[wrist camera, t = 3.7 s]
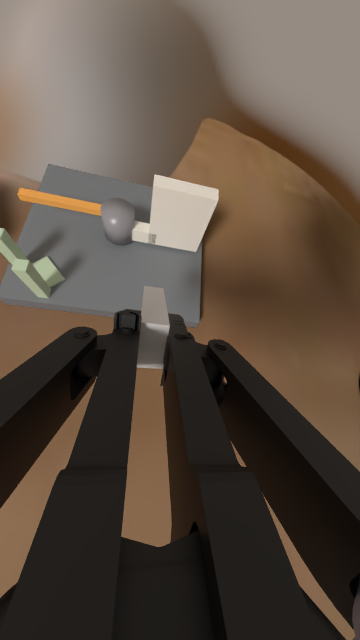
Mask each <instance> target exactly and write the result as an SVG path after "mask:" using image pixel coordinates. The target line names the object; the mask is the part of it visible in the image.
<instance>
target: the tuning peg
mask: <svg viewBox="0 0 360 640" xmlns="http://www.w3.org/2000/svg"><path fill="white" fill-rule="evenodd" d="M18 196H19V198H20V200H23V201H28V202H33V203H38V204H43V205H49V206H54V207H59V208H64V209H69V210H74V211H79V212H84V213H89V214H94V215H99V216H102V221H103V227H104V233H105V237H106V238H107V240H108V241H109V242H111V243H113V244H115V245H126V244H129V243H130V242H131V241H132V240H133V241H138V242H144V243H149V244H155V245H160V246H166V247H171V248H176V249H182V250H187V251H193V252H196V251H197V249H198V246H199V244H200V242H201V239H202V237H203V235H204V232H205V230H206V228H207V225H208V223H209V221H210V218H211V216H212V214H213V212H214V209H215V207H216V205H217V202H218V189H214V188H210V187H206V186H202V185H197V184H193V183H189V182H185V181H180V180H176V179H172V178H168V177H164V176H159V175H155V177H154V184H153V194H152V205H151V216H150V224H148V223H143V222H138V221H135V212H134V208H133V206H132V204H131V203H129V202H128V201H127V200H125V199H122V198H110V199H107V200H105V201H104V202H103V203H102V204H97V203H92V202H87V201H83V200H78V199H73V198H68V197H63V196H58V195H53V194H49V193H44V192H39V191H34V190H29V189H24V188H20V189H19V191H18Z"/></svg>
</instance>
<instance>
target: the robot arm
mask: <svg viewBox="0 0 360 640" xmlns="http://www.w3.org/2000/svg"><path fill="white" fill-rule="evenodd" d="M163 363H164V368H163V374H162V379H161V385H160V386H162V385H163V392H164V407H165V423H166V438H167V453H168V469H169V484H170V500H171V515H172V530H171V543H169V544H167V545H165V546H162V547H155V546H151V545H148V544H144V543H141V542H137V541H134V540H130V539H127V538H123V537H121V532H122V521H123V511H124V500H125V489H126V479H127V463H128V453H129V442H130V432H131V421H132V411H133V401H134V390H135V380H136V369H137V367H142V368H156V369H162V367H163ZM96 376H98V377H97V379H96ZM224 377H225V378H226V380H227V384H226V383H225V382H224V381H223V380H224ZM95 379H96V382H95ZM94 382H95V385H94V388H93V391H92V394H91V397H90V400H89V403H88V406H87V409H86V412H85V415H84V418H83V421H82V424H81V427H80V430H79V433H78V436H77V438H76V441H75V444H74V447H73V450H72V453H71V456H70V459H69V462H68V464H67V466H66V468H65V469H63V470H61V471H60V473H59V474H58V476H57V478H56V480H55V483H54V485H53V488H52V490H51V493H50V496H49V498H48V501H47V504H46V507H45V509H44V512H43V515H42V518H41V520H40V523H39V526H38V528H37V531H36V534H35V537H34V539H33V542H32V545H31V548H30V550H29V553H28V556H27V558H26V561H25V564H24V567H23V569H22V572H21V575H20V578H19V580H18V582H17V583H16V584H15V585H14V586H13V587H11V588H10V589H9V590H8V591H7V592H6V593H5V594H4V595H3V596H2V597H1V598H0V640H346V639H345V638H344V637H343V636H342V634H341V633H340V632H339V631H338V630H337V629H336V627H335V626H334V625H333V624H332V623H331V622H330V621H329V619H328V618H327V617H326V616H325V615H324V614H323V612H322V611H321V610H320V609H319V608H318V607H317V605H316V604H315V603H314V602H313V601H312V600H311V599H310V597H309V596H308V595H307V594H306V593H305V592H304V590H303V589H302V588H301V587H300V586H299V584H298V581H297V579H296V576H295V574H294V571H293V569H292V566H291V564H290V561H289V559H288V556H287V554H286V551H285V549H284V546H283V544H282V541H281V539H280V536H279V534H278V531H277V529H276V526H275V524H274V521H273V519H272V516H271V514H270V511H269V509H268V506H267V504H266V501H265V499H264V496H265V498H266V500H267V501H268V503H269V505H270V506H271V508H272V510H273V511H274V513H275V515H276V516H277V518H278V520H279V521H280V523H281V525H282V526H283V528H284V530H285V531H286V533H287V535H288V536H289V538H290V540H291V541H292V543H293V545H294V546H295V548H296V550H297V551H298V553H299V555H300V556H301V558H302V559H303V561H304V562H305V564H306V566H307V567H308V569H309V570H310V572H311V573H312V575H313V576H314V578H315V580H316V581H317V583H318V584H319V585H320V587H321V588H322V589H323V591H324V592H325V594H326V595H327V596H328V598H329V599H330V600H331V602H332V603H333V605H334V606H335V607H336V609H337V610H338V611H339V612H340V614H341V615H342V616H343V617H344V618H345V620H346V621H347V622H348V623H349V625H350V626H351V627H352V628H353V629H354V632H355V635H356V636H355V637H354V638H353V640H360V472H359V471H358V470H357V469H356V468H355V467H354V466H353V465H352V464H351V463H350V462H349V461H348V460H347V459H346V458H345V457H344V456H343V455H342V454H341V453H340V452H339V451H338V450H337V449H336V448H335V447H334V446H333V445H332V444H331V443H330V442H329V441H328V440H327V439H326V438H325V437H324V436H323V435H322V434H321V433H320V432H319V431H318V430H317V429H316V428H315V427H314V426H313V425H312V424H311V423H310V422H309V421H308V420H307V419H305V418H304V417H303V416H302V415H301V414H300V413H299V412H298V411H297V410H296V409H295V408H294V407H293V406H292V405H291V404H290V403H289V402H288V401H287V400H286V399H285V398H284V397H283V396H282V395H281V394H280V393H279V392H278V391H277V390H276V389H275V388H274V387H273V386H272V385H271V384H270V383H269V382H268V381H267V380H266V379H265V378H264V377H263V376H262V375H261V374H260V373H259V372H258V371H257V370H256V369H255V368H254V367H253V366H252V365H251V364H250V363H249V362H248V361H247V360H245V359H244V358H243V357H242V356H241V355H240V354H239V353H238V352H237V351H236V350H235V349H234V348H233V347H232V346H231V345H230V344H229V343H227V342H225V341H223V340H219V339H218V340H216V339H214V340H210V341H209V342H208V346H207V345H203V344H200V343H197V342H195V339H194V337H193V335H192V334H191V333H189V332H187V329H186V326H185V322H184V319H183V318H182V317H181V316H180V315H179V314H170V313H168V312H167V306H166V300H165V294H164V288H157V287H150V286H144V292H143V301H142V310H141V311H140V310H132V309H125V310H123V311H118V312H116V313H115V315H114V329H113V332H112V333H111V334H107V335H99V336H97V332H96V331H95V330H94V329H92V328H89V327H77V328H72V329H70V330H68V331H67V332H66V333H64V334H63V335H61V336H60V337H59V338H57V339H56V340H54V341H53V342H52V343H50V344H49V345H48V346H46V347H45V348H43V349H42V350H41V351H39V352H38V353H37V354H35V355H34V356H32V357H31V358H30V359H28V360H27V361H25V362H24V363H23V364H21V365H20V366H19V367H17V368H16V369H14V370H13V371H12V372H10V373H9V374H8V375H6V376H5V377H3V378H2V379H1V380H0V508H1V507H2V506H3V504H4V503H5V502H6V500H7V499H8V498H9V496H10V495H11V494H12V492H13V491H14V489H15V488H16V487H17V485H18V484H19V483H20V481H21V480H22V479H23V477H24V476H25V475H26V473H27V472H28V471H29V469H30V468H31V467H32V465H33V464H34V462H35V461H36V460H37V458H38V457H39V456H40V454H41V453H42V452H43V450H44V449H45V448H46V446H47V445H48V444H49V442H50V441H51V440H52V438H53V437H54V436H55V434H56V433H57V431H58V430H59V429H60V427H61V426H62V425H63V423H64V422H65V421H66V419H67V418H68V417H69V415H70V414H71V413H72V411H73V410H74V409H75V407H76V406H77V405H78V403H79V402H80V400H81V399H82V398H83V396H84V395H85V394H86V392H87V391H88V390H89V388H90V387H91V386H92V384H93V383H94ZM230 440H231V441H230ZM231 442H232V443H233V445H234V447H235V448H236V450H237V452H238V453H239V455H240V456H241V458H242V460H243V461H244V463H245V465H246V466H247V467H242V466H241V465H240V464H239V463H238V461H237V458H236V455H235V452H234V450H233V447H232V444H231ZM262 493H263V494H262ZM263 495H264V496H263Z"/></svg>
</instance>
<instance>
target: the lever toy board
mask: <svg viewBox="0 0 360 640" xmlns="http://www.w3.org/2000/svg"><path fill="white" fill-rule="evenodd" d="M38 191H39V192H44V193H49V194H53V195H58V196H63V197H68V198H73V199H78V200H83V201H87V202H92V203H97V204H102V203H103V202H104V201H105V200H107V199H110V198H122V199H125V200H127V201H128V202H129V203H131V204H132V206H133V208H134V212H135V221H138V222H143V223H148V224H150V216H151V205H152V194H153V187H148V186H144V185H139V184H135V183H131V182H126V181H122V180H117V179H113V178H109V177H104V176H99V175H95V174H91V173H86V172H82V171H77V170H73V169H69V168H65V167H60V166H55V165H51V164H48V167H47V169H46V172H45V174H44V177H43V179H42V182H41V184H40V187H39V189H38ZM0 252H1V253H2V254H3V255H4V256H5V257H6V258H7V260H8V261H9V265H8V267H7V270H6V272H5V275H4V277H3V280H2V282H1V285H0V300H1V301H2V302H4V303H5V304H10V305H19V306H27V307H35V308H43V309H51V310H59V311H67V312H75V313H83V314H91V315H99V316H107V317H114V315H115V313H116V312H118V311H123V310H125V309H132V310H140V311H141V310H142V301H143V292H144V286H150V287H157V288H164V294H165V300H166V306H167V312H168V313H170V314H179V315H180V316H181V317H182V318H183V319H184V322H185V326H187V327H196V326H197V325H198V324H199V320H200V290H201V260H202V239H201V242H200V244H199V246H198V249H197V251H196V252H193V251H187V250H182V249H176V248H171V247H166V246H160V245H155V244H149V243H144V242H138V241H133V240H132V241H131V242H130V243H129V244H126V245H115V244H113V243H111V242H109V241H108V240H107V238H106V237H105V233H104V227H103V221H102V216H99V215H94V214H89V213H84V212H79V211H74V210H69V209H64V208H59V207H54V206H49V205H43V204H38V203H33V204H32V207H31V209H30V212H29V214H28V217H27V219H26V222H25V224H24V227H23V230H22V232H21V235H20V237H19V240H18V242H17V244H16V243H15V242H14V240H13V239H12V238H11V237H10V235H9V234H8V233H7V231H6V230H5V229H3V228H0Z"/></svg>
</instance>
